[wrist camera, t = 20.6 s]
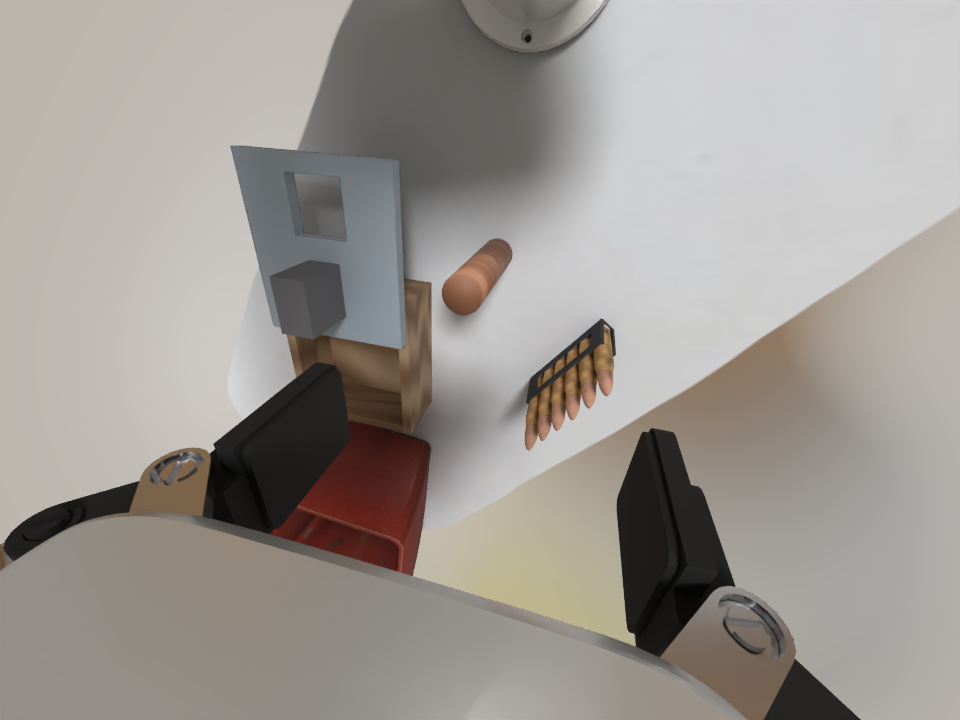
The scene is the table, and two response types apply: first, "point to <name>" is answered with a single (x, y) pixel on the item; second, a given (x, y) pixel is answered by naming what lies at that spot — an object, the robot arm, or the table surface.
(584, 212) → the table surface
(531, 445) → the ammunition clip
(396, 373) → the brown hollow box
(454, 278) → the brown rounded cylinder
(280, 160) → the toolbox lid
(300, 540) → the plant pot
